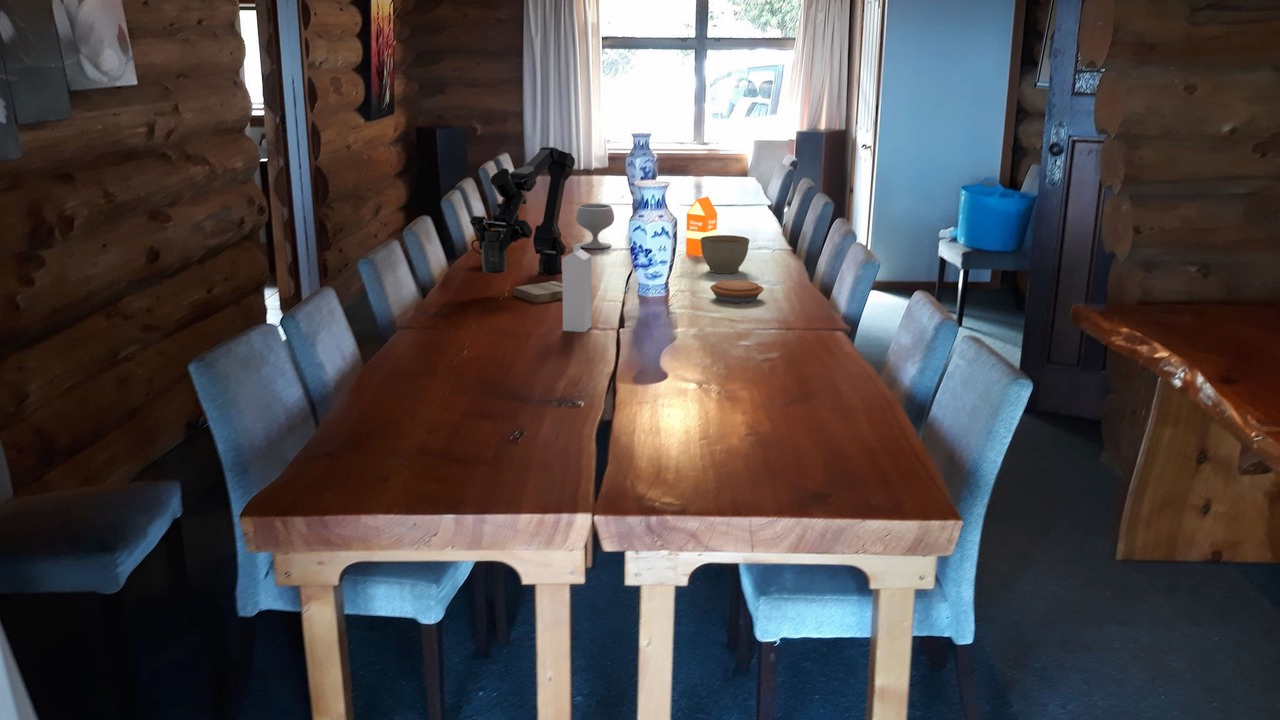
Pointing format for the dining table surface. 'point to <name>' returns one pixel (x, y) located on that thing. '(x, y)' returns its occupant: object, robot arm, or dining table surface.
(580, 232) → the dining table surface
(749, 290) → the pie
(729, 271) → the planter bowl
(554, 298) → the beige flat block
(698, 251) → the orange juice
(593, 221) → the chalice
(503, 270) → the supplement bottle
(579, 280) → the milk
